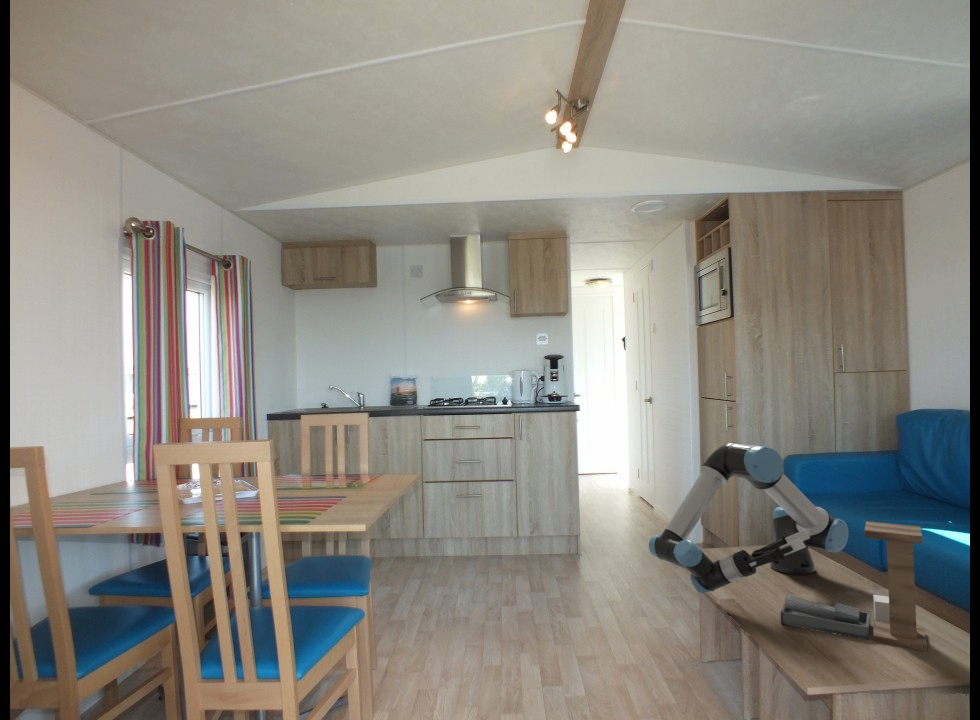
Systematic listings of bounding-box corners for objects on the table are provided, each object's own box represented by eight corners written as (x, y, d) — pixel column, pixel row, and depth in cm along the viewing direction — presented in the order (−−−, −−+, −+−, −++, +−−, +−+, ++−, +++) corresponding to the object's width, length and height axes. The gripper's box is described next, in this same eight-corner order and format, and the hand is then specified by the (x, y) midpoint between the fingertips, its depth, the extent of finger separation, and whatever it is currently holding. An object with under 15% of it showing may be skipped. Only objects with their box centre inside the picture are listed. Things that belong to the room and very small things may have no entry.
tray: (786, 610, 190) (786, 599, 191) (870, 624, 178) (869, 612, 179) (781, 624, 180) (780, 612, 181) (868, 640, 168) (868, 627, 168)
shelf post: (870, 624, 178) (866, 521, 179) (924, 634, 171) (920, 526, 172) (868, 640, 168) (864, 530, 169) (926, 651, 161) (922, 536, 162)
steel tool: (786, 602, 188) (787, 589, 188) (857, 622, 178) (859, 608, 178) (783, 609, 182) (784, 596, 182) (857, 631, 172) (859, 617, 172)
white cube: (897, 617, 183) (896, 597, 183) (899, 625, 178) (899, 604, 178) (873, 614, 186) (873, 594, 186) (875, 621, 181) (874, 601, 181)
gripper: (752, 567, 201) (816, 540, 191) (737, 588, 182) (808, 560, 172) (739, 545, 203) (802, 518, 193) (723, 564, 184) (792, 535, 174)
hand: (805, 538), depth 182 cm, fingers open, 10 cm apart
